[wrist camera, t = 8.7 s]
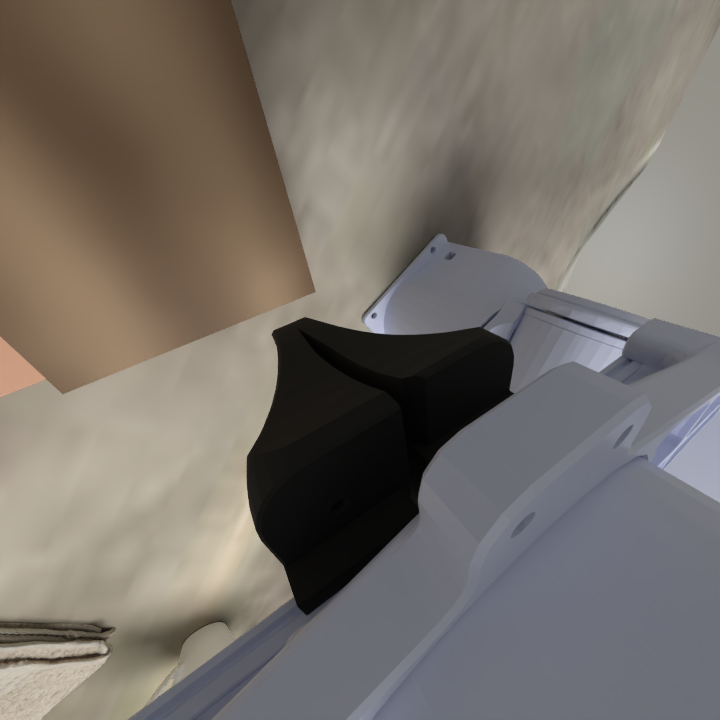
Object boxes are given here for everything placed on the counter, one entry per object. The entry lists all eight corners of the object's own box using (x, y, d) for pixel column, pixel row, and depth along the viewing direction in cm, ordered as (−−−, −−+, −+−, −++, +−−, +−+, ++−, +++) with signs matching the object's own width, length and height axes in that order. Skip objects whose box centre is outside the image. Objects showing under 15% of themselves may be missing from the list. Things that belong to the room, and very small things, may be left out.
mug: (259, 606, 36) (291, 738, 28) (210, 658, 36) (227, 807, 27) (162, 611, 28) (165, 800, 19) (98, 678, 28) (74, 898, 19)
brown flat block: (197, -8, 12) (211, -66, 9) (291, 273, 19) (315, 291, 16) (-234, 15, 8) (-440, -69, 6) (80, 352, 16) (62, 394, 13)
